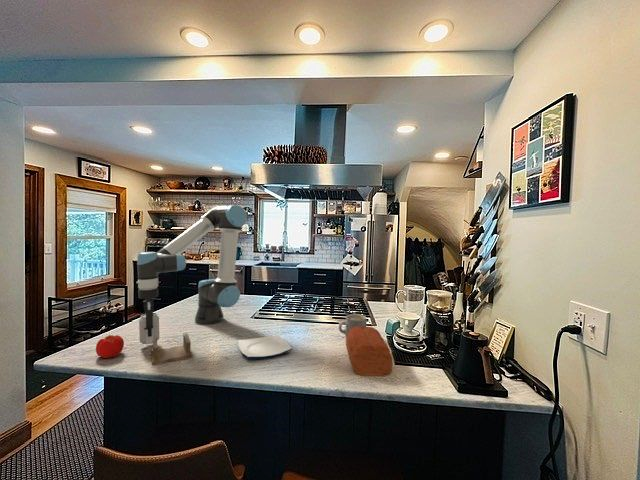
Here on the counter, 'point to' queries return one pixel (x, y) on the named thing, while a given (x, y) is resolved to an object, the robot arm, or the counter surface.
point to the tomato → (109, 346)
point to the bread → (368, 352)
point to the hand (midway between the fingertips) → (149, 340)
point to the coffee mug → (352, 322)
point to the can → (155, 325)
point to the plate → (263, 347)
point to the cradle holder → (171, 351)
